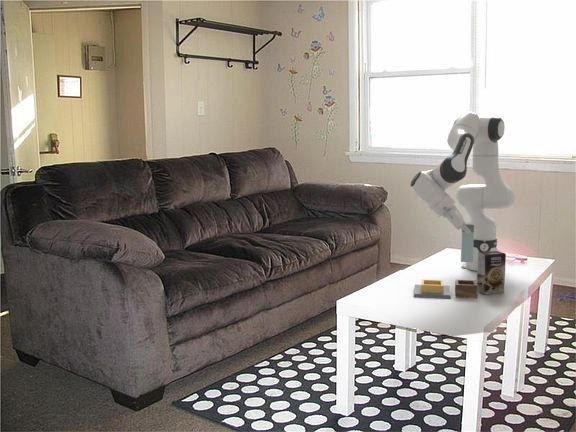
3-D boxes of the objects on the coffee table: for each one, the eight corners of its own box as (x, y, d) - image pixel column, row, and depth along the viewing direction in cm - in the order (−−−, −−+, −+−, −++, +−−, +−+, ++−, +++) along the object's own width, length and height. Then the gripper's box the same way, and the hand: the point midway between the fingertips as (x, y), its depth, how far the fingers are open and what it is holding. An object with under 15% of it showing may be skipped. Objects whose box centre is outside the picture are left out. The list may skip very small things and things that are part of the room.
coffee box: (485, 294, 252) (486, 255, 249) (476, 290, 258) (477, 251, 256) (505, 292, 254) (506, 253, 252) (495, 288, 261) (497, 250, 258)
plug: (460, 259, 253) (461, 222, 251) (472, 259, 252) (473, 222, 250) (461, 262, 249) (462, 224, 246) (472, 262, 248) (473, 224, 245)
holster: (454, 291, 257) (455, 279, 256) (475, 292, 255) (475, 280, 255) (455, 297, 249) (456, 284, 249) (476, 298, 248) (477, 285, 247)
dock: (414, 287, 264) (415, 277, 264) (449, 288, 261) (449, 278, 261) (414, 296, 251) (414, 286, 250) (450, 298, 248) (450, 287, 247)
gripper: (450, 204, 238) (477, 230, 238) (449, 197, 258) (473, 221, 257) (438, 216, 240) (464, 242, 239) (437, 207, 259) (461, 231, 259)
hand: (469, 231), depth 248 cm, fingers closed on plug, 4 cm apart
